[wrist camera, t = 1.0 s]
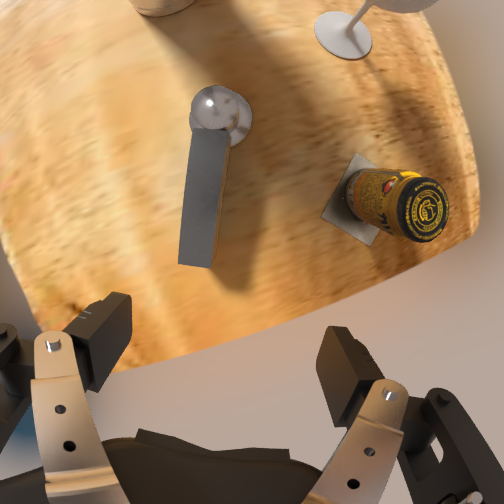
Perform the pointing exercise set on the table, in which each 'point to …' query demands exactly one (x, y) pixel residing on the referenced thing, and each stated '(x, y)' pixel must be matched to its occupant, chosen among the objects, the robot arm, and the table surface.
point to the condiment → (387, 203)
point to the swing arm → (207, 174)
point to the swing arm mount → (242, 126)
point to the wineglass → (357, 27)
